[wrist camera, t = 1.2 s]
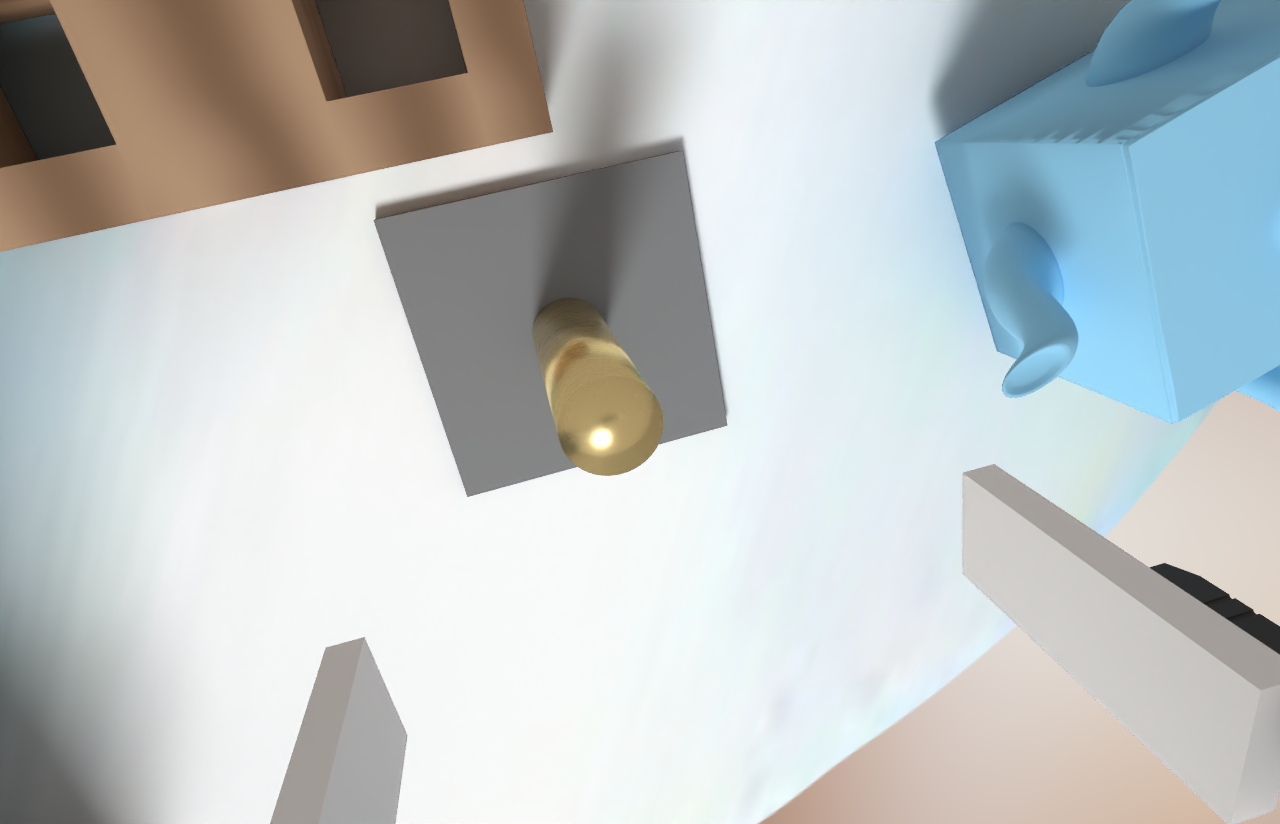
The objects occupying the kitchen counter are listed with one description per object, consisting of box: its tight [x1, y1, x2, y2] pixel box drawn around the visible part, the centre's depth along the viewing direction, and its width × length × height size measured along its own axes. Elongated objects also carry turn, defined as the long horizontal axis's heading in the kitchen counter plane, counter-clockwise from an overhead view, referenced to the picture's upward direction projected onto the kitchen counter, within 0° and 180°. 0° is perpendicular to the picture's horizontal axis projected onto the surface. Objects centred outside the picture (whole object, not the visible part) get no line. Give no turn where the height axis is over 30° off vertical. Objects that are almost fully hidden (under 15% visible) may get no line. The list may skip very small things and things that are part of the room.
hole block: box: [0, 0, 553, 252], centre depth 26 cm, size 22×10×5 cm, turn 101°
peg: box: [532, 298, 663, 476], centre depth 29 cm, size 4×4×12 cm
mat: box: [374, 151, 727, 497], centre depth 34 cm, size 14×14×1 cm
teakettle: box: [935, 0, 1280, 424], centre depth 31 cm, size 19×19×15 cm
